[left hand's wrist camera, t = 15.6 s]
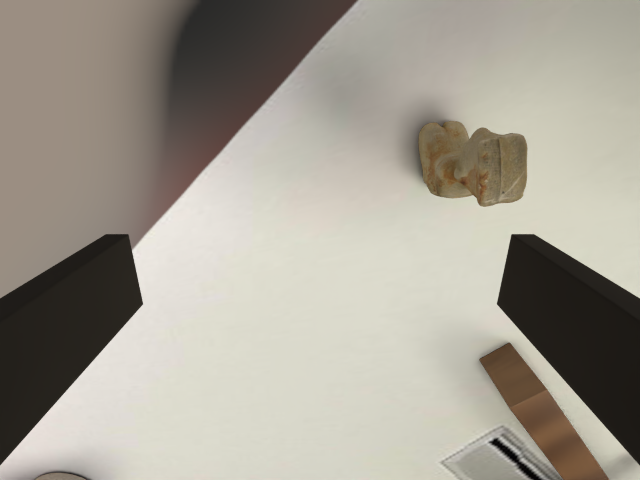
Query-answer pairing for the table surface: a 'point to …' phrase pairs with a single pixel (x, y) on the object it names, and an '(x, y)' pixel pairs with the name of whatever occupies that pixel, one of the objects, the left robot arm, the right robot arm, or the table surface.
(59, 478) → the bust sculpture
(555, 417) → the bar
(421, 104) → the table surface
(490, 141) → the sculpture
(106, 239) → the left robot arm
